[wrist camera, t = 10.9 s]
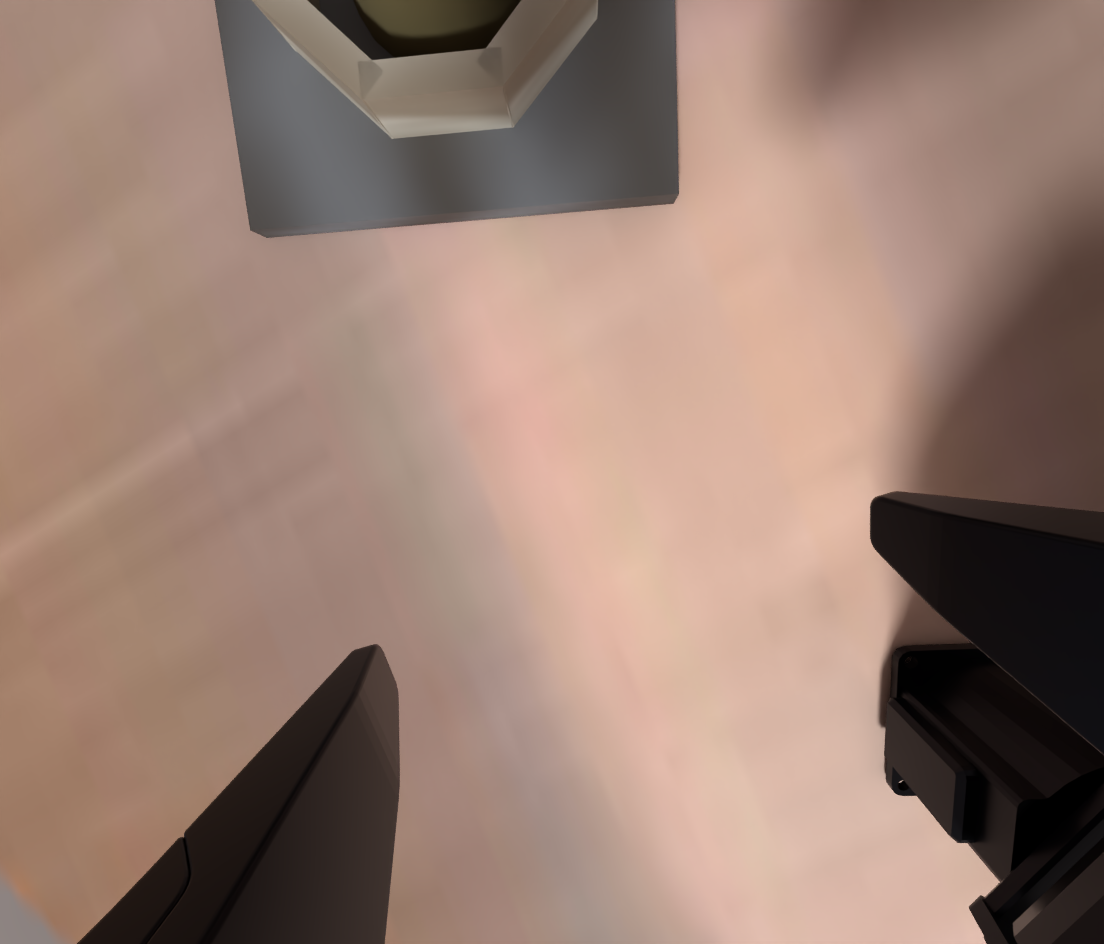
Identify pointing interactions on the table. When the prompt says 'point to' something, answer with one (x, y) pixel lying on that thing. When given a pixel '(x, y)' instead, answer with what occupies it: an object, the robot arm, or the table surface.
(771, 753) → the table surface
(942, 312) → the table surface
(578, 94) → the socket
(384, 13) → the cork
